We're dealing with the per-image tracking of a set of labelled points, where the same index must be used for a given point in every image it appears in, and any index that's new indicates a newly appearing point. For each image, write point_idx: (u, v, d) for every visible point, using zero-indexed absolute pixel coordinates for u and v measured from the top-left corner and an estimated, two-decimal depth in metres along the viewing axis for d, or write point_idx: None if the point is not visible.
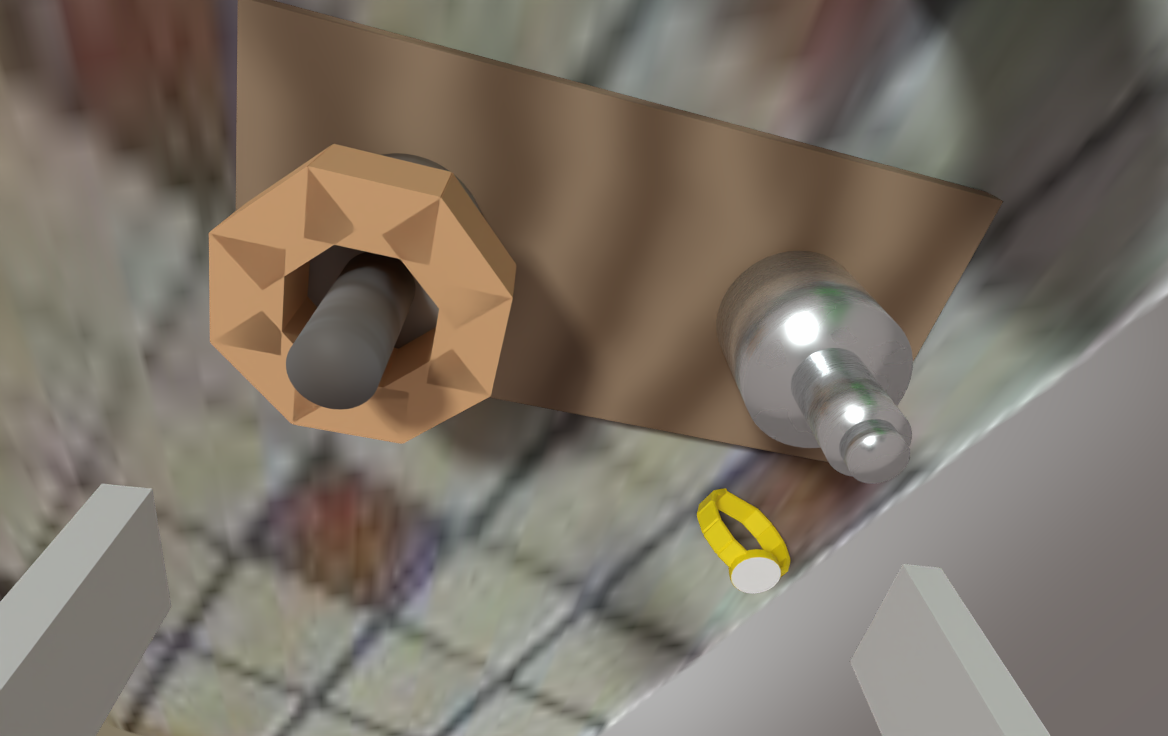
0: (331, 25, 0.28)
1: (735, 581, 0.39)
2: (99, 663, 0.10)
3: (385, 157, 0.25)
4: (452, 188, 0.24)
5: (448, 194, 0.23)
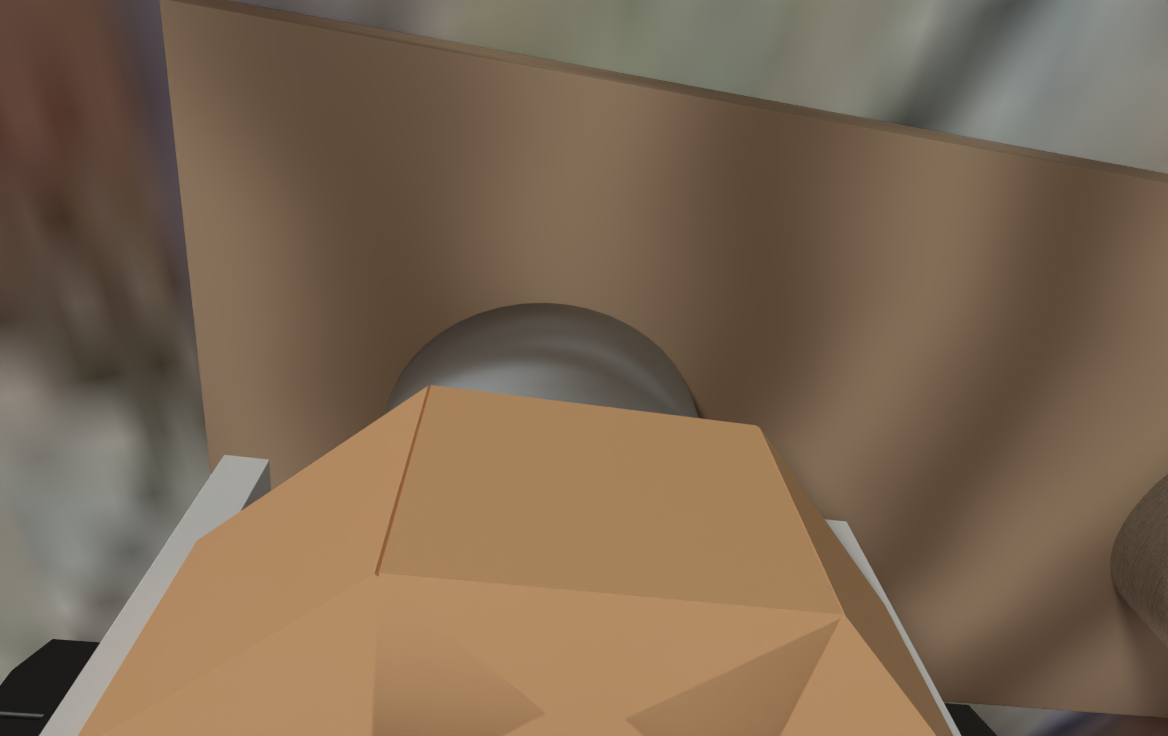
0: (380, 47, 0.12)
1: None
2: None
3: (575, 406, 0.09)
4: (797, 503, 0.08)
5: (820, 555, 0.07)
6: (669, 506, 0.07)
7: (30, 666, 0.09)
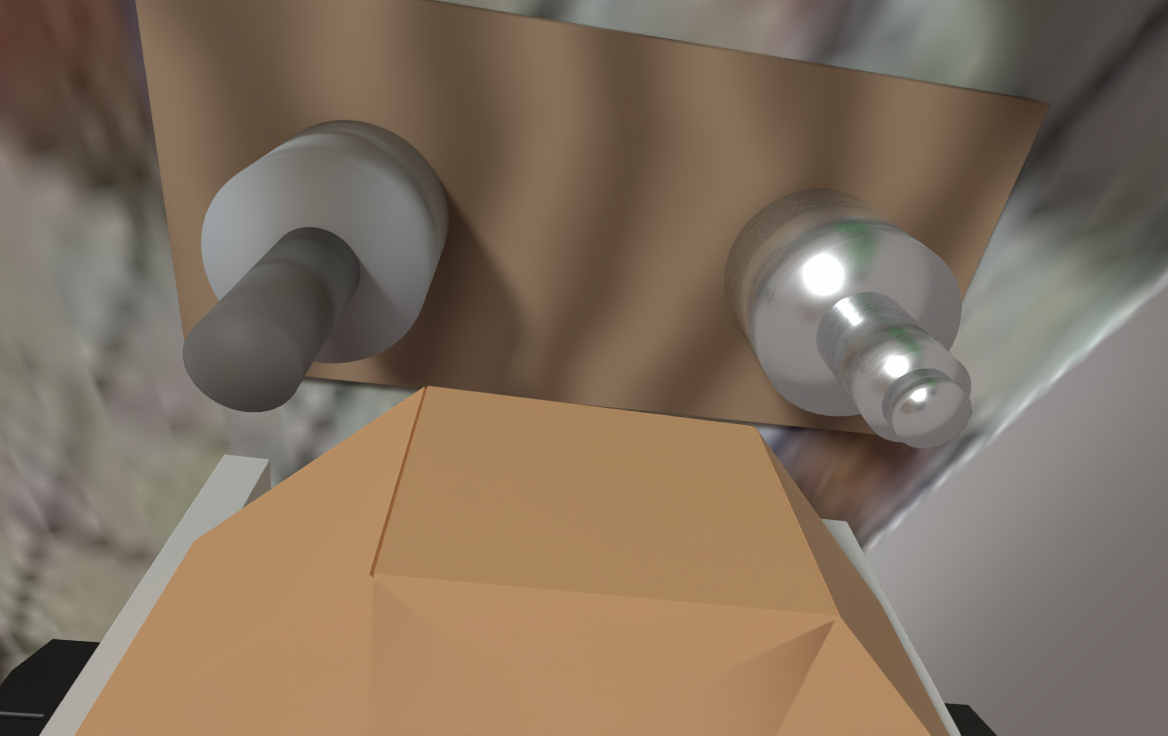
0: None
1: None
2: None
3: (571, 406, 0.09)
4: (793, 504, 0.08)
5: (816, 556, 0.07)
6: (665, 507, 0.07)
7: (31, 666, 0.09)
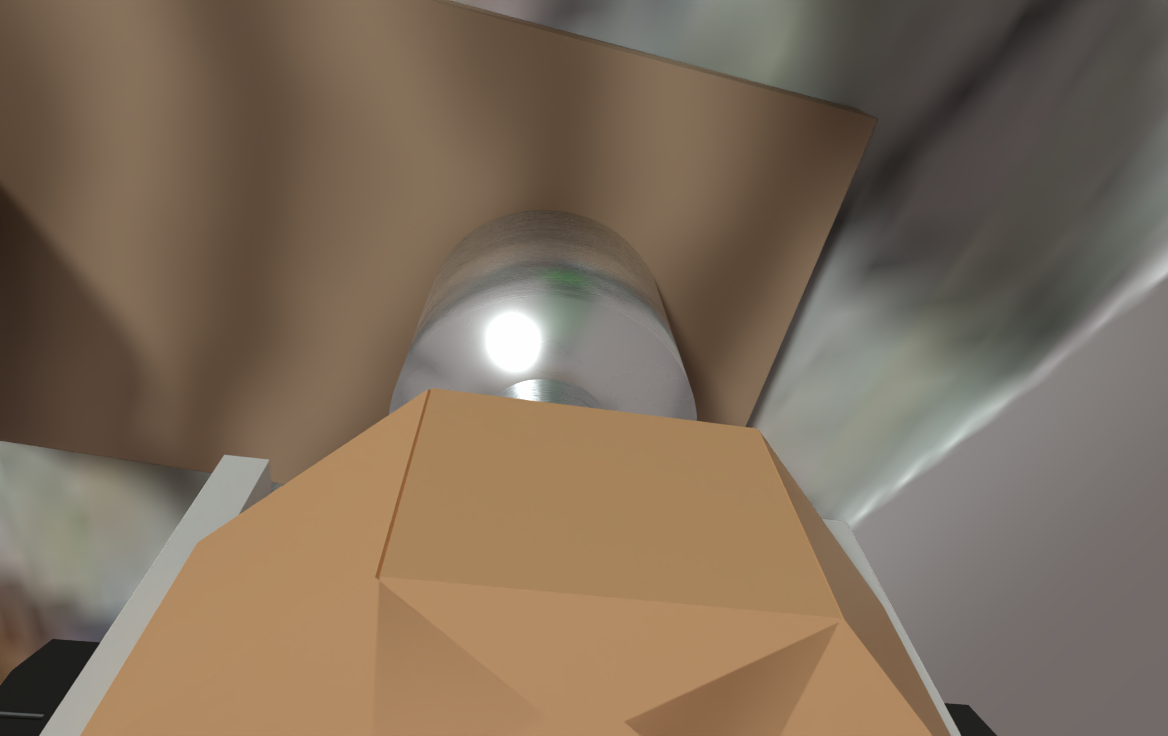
0: None
1: None
2: None
3: (575, 409, 0.09)
4: (796, 506, 0.08)
5: (820, 558, 0.07)
6: (669, 509, 0.07)
7: (30, 666, 0.09)
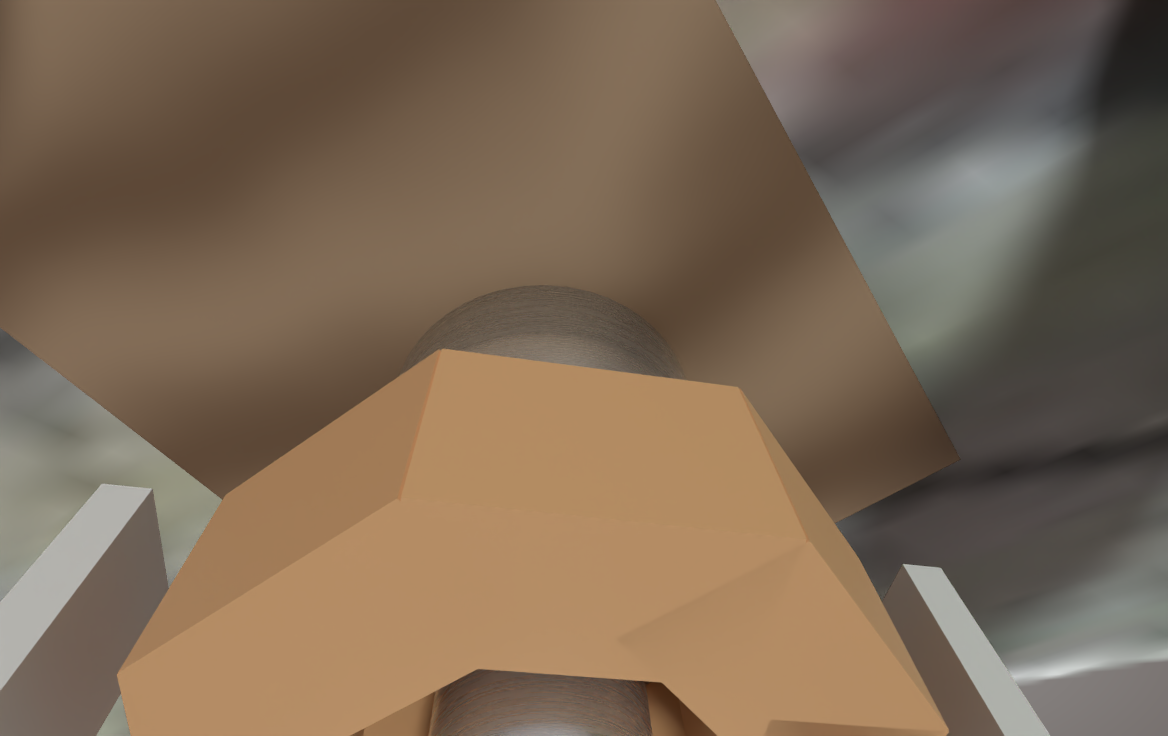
0: None
1: None
2: (99, 663, 0.10)
3: (572, 368, 0.10)
4: (772, 453, 0.09)
5: (791, 495, 0.08)
6: (656, 451, 0.08)
7: None
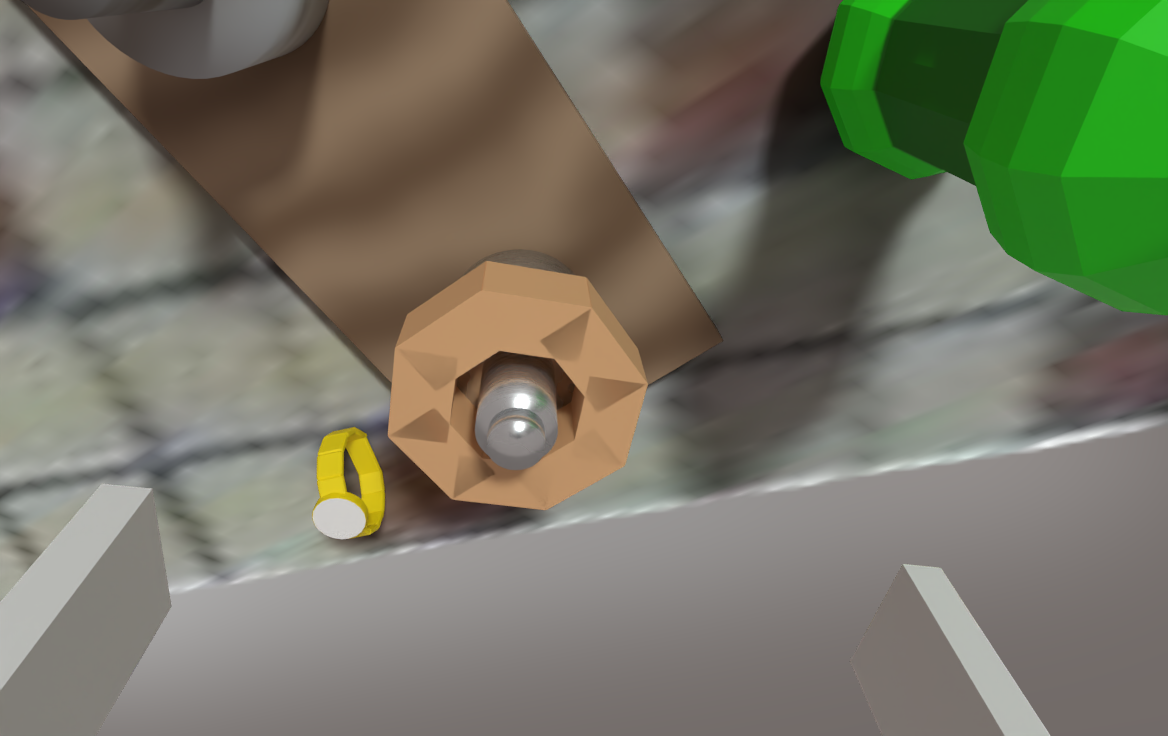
0: None
1: (316, 513, 0.36)
2: (99, 663, 0.10)
3: (529, 268, 0.29)
4: (592, 294, 0.28)
5: (593, 301, 0.27)
6: (553, 288, 0.27)
7: None
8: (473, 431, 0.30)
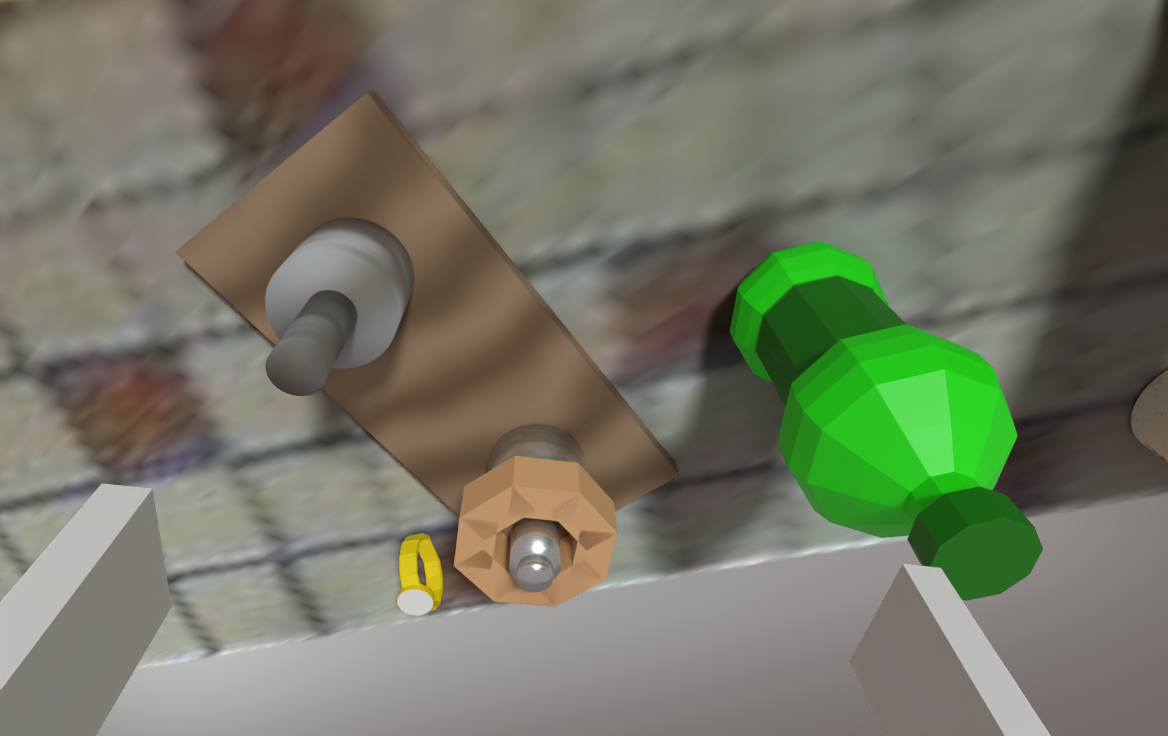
0: (408, 147, 0.41)
1: (400, 599, 0.53)
2: (99, 663, 0.10)
3: (542, 459, 0.45)
4: (581, 477, 0.44)
5: (581, 485, 0.44)
6: (556, 477, 0.44)
7: None
8: (507, 558, 0.47)
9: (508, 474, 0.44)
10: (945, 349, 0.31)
